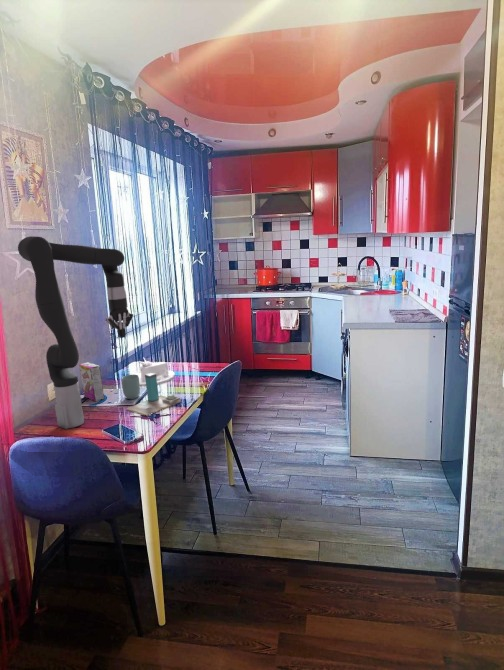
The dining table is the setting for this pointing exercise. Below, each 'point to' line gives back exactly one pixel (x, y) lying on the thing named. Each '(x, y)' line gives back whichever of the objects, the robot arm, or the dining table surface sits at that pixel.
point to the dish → (157, 368)
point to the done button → (171, 396)
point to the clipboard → (153, 405)
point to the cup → (130, 386)
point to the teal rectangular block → (151, 387)
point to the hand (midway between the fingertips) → (122, 337)
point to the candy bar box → (91, 381)
